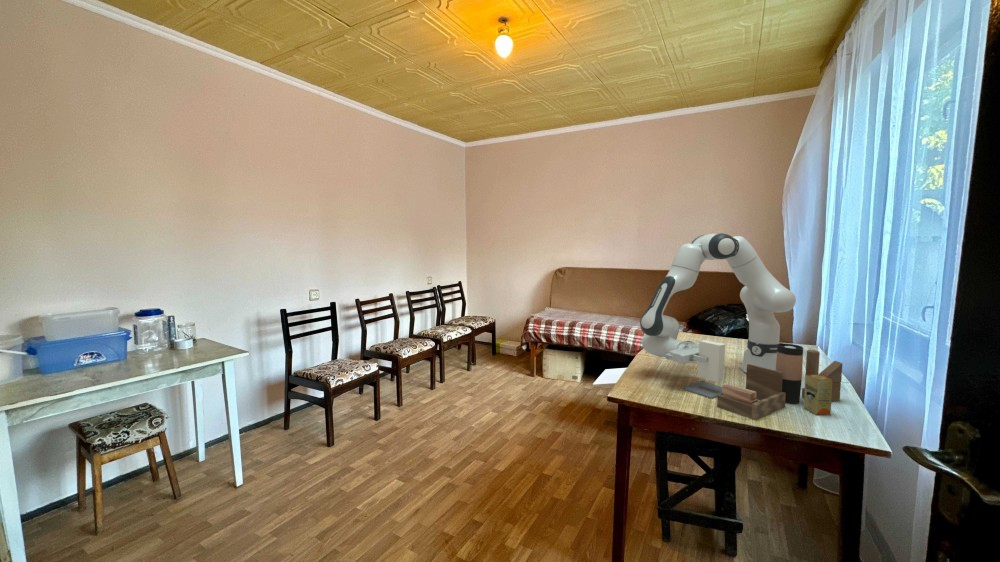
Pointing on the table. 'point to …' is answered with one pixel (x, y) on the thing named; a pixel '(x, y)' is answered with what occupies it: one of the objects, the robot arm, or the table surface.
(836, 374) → the wooden block
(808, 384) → the shoe polish box
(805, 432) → the table surface
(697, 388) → the mat
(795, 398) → the travel mug
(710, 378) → the white rectangular block
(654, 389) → the table surface
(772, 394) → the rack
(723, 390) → the offcut stack
